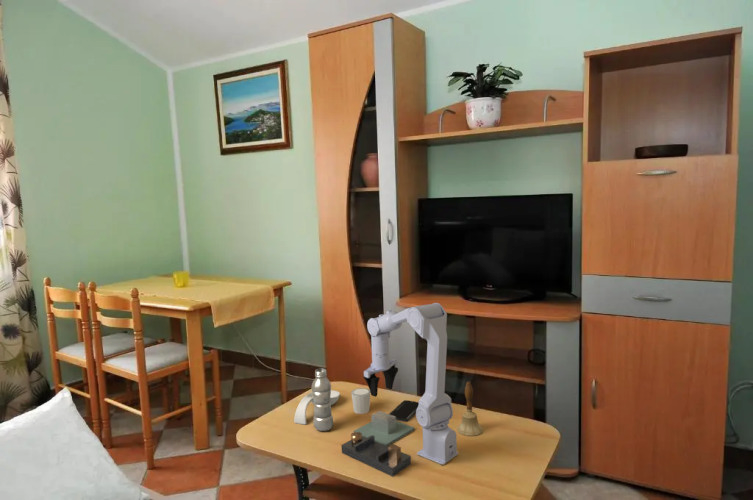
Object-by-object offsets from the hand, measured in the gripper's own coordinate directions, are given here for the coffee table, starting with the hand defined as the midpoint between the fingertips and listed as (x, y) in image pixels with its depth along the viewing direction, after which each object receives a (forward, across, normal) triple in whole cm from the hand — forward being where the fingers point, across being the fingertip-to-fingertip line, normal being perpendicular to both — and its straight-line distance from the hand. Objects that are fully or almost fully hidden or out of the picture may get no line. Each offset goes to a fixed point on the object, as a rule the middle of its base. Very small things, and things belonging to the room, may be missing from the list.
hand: (381, 392), depth 166 cm
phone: (+11, -11, +1) cm, 16 cm away
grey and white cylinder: (+11, -2, -12) cm, 16 cm away
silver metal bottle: (+11, +16, -12) cm, 23 cm away
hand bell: (+11, -13, +26) cm, 31 cm away
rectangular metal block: (+10, +5, +5) cm, 12 cm away
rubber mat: (+10, +5, +5) cm, 13 cm away
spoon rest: (+11, +7, -25) cm, 28 cm away
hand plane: (+10, +19, +14) cm, 26 cm away
